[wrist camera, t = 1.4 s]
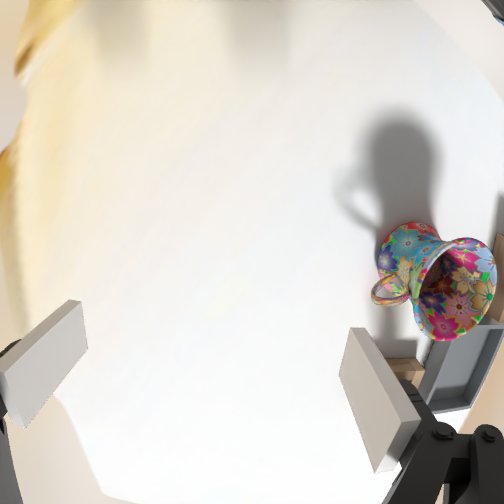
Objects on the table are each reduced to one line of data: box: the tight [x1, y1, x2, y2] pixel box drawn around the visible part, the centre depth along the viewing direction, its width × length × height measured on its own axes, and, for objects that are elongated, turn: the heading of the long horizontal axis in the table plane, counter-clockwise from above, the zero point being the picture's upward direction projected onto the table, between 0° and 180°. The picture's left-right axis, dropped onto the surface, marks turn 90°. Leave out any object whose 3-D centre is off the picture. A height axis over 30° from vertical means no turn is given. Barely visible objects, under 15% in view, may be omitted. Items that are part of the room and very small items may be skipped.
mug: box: [371, 222, 497, 341], centre depth 28 cm, size 12×9×11 cm
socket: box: [385, 358, 425, 389], centre depth 36 cm, size 7×7×3 cm
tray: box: [417, 314, 504, 414], centre depth 35 cm, size 14×10×4 cm
